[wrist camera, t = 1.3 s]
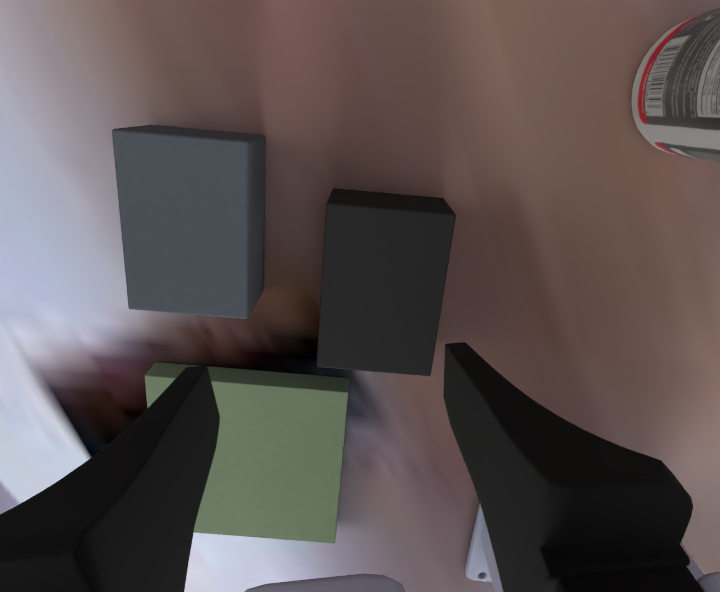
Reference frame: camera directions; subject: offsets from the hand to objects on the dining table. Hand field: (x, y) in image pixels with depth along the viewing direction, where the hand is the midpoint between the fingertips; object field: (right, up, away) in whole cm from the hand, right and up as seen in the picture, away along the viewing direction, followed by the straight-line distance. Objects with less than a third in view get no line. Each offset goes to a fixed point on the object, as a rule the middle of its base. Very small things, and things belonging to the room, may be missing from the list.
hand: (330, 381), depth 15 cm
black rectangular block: (+2, +4, +8) cm, 9 cm away
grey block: (-6, +6, +7) cm, 12 cm away
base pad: (-5, -6, +12) cm, 15 cm away
